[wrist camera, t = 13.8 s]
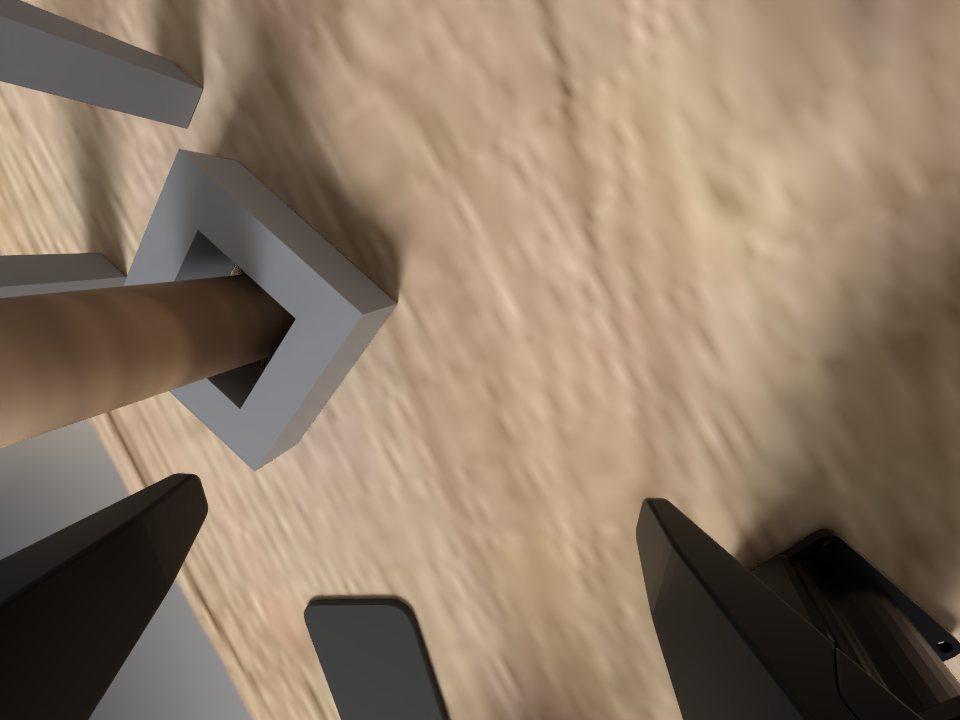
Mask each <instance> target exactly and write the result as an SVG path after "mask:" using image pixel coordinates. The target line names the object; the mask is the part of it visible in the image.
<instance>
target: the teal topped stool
mask: <svg viewBox="0 0 960 720" xmlns="http://www.w3.org/2000/svg"><path fill="white" fill-rule="evenodd" d="M0 81H3V82H6V83H10V84H14V85H18V86H22V87H26V88H30V89H34V90H38V91H42V92H46V93H49V94H53V95H57V96H61V97H65V98H69V99H73V100H77V101H81V102H85V103H89V104H92V105H96V106H100V107H104V108H108V109H112V110H116V111H120V112H124V113H128V114H131V115H135V116H139V117H143V118H147V119H151V120H155V121H159V122H163V123H167V124H171V125H174V126H178V127H182V128H186V129H187V127H188V125H189V122H190V120H191V117H192V115H193V112H194V110H195V108H196V105H197V103H198V100H199V98H200V95H201V93H202V90H203V89H202V88H201V87H200V86H199V85H198V84H197V83H196V82H195V81H193V80H192V79H191V78H190V77H189V76H188V75H187V74H186V73H184V72H183V71H182V70H181V69H180V68H179V67H178V66H177V65H175V64H174V63H173V62H172V61H170V60H168V59H165V58H163V57H160V56H158V55H155V54H153V53H150V52H148V51H145V50H143V49H140V48H138V47H135V46H133V45H130V44H128V43H125V42H123V41H120V40H118V39H115V38H113V37H110V36H108V35H105V34H103V33H100V32H98V31H95V30H93V29H90V28H88V27H85V26H83V25H80V24H78V23H75V22H73V21H70V20H68V19H65V18H63V17H60V16H58V15H55V14H53V13H50V12H48V11H45V10H43V9H40V8H38V7H35V6H33V5H30V4H28V3H25V2H23V1H20V0H0ZM125 279H126V276H125V275H124V274H123V273H121V272H120V271H119V270H118V269H117V268H116V267H115V266H114V265H113V264H112V263H111V262H110V261H109V260H107V259H106V258H105V257H104V256H103V255H102V254H101V253H80V254H45V255H9V256H0V298H6V297H16V296H26V295H37V294H47V293H58V292H68V291H78V290H89V289H99V288H109V287H120V286H123V284H124V282H125Z"/></svg>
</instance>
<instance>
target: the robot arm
mask: <svg viewBox="0 0 960 720" xmlns="http://www.w3.org/2000/svg"><path fill="white" fill-rule="evenodd" d="M207 512H208V503H207V500H206V496H205V493H204V490H203V487H202V483H201V480H200V478H199V477H198V476H197V475H195V474H183V473H178V474H173V475H171V476H169V477H167V478H165V479H163V480H161V481H159V482H157V483H155V484H153V485H151V486H149V487H147V488H145V489H143V490H141V491H139V492H137V493H135V494H133V495H131V496H128V497H126V498H124V499H122V500H120V501H118V502H116V503H114V504H112V505H110V506H109V507H107V508H104V509H102V510H100V511H98V512H96V513H94V514H92V515H90V516H88V517H86V518H84V519H82V520H80V521H78V522H76V523H74V524H72V525H70V526H68V527H66V528H64V529H62V530H60V531H58V532H56V533H54V534H52V535H50V536H48V537H46V538H44V539H42V540H40V541H38V542H36V543H34V544H32V545H30V546H28V547H26V548H24V549H22V550H20V551H18V552H16V553H14V554H12V555H9V556H7V557H5V558H3V559H2V560H0V720H89V718H90V717H91V715H92V714H93V712H94V710H95V709H96V707H97V705H98V704H99V702H100V700H101V699H102V697H103V696H104V694H105V692H106V691H107V689H108V688H109V686H110V684H111V683H112V681H113V680H114V678H115V677H116V675H117V673H118V671H119V670H120V668H121V667H122V665H123V664H124V662H125V660H126V659H127V657H128V656H129V654H130V652H131V651H132V649H133V648H134V646H135V644H136V643H137V641H138V640H139V638H140V636H141V635H142V633H143V631H144V630H145V628H146V627H147V625H148V624H149V622H150V620H151V619H152V617H153V615H154V614H155V612H156V611H157V609H158V608H159V606H160V604H161V603H162V601H163V599H164V598H165V596H166V594H167V593H168V591H169V589H170V587H171V586H172V584H173V582H174V580H175V578H176V576H177V574H178V572H179V570H180V568H181V566H182V564H183V562H184V560H185V558H186V556H187V554H188V552H189V550H190V548H191V546H192V544H193V542H194V540H195V538H196V536H197V534H198V532H199V530H200V528H201V526H202V524H203V522H204V520H205V518H206V516H207ZM636 540H637V545H638V550H639V555H640V561H641V566H642V571H643V576H644V581H645V586H646V591H647V596H648V602H649V606H650V611H651V616H652V619H653V623H654V627H655V630H656V633H657V637H658V640H659V643H660V646H661V650H662V653H663V656H664V659H665V663H666V666H667V669H668V672H669V675H670V679H671V682H672V685H673V688H674V692H675V695H676V698H677V701H678V705H679V708H680V711H681V714H682V718H683V720H960V683H959V682H958V681H957V680H956V678H955V677H954V676H953V674H952V673H951V672H950V670H949V669H948V668H947V667H946V665H945V664H944V663H943V662H944V661H946V660H948V659H951V658H953V657H955V656H956V655H958V654H959V653H960V643H959V642H958V640H957V639H956V638H955V637H954V636H953V634H952V633H951V632H950V631H949V630H948V629H946V628H945V627H944V626H943V625H942V624H941V623H940V622H938V621H937V620H936V619H935V618H934V617H933V616H932V615H930V614H929V613H928V612H927V611H926V610H925V609H924V608H922V607H921V606H920V605H919V604H918V603H917V602H916V601H914V600H913V599H912V598H911V597H910V596H909V595H908V594H906V593H905V592H904V591H903V590H902V589H901V588H900V587H898V586H897V585H896V584H895V583H894V582H893V581H892V580H890V579H889V578H888V577H887V576H886V575H885V574H884V573H882V572H881V571H880V570H879V569H878V568H877V567H876V566H874V565H873V564H872V563H871V562H870V561H869V560H868V559H866V558H865V557H864V556H863V555H862V554H861V553H860V552H858V551H857V550H856V549H855V548H854V547H853V546H852V545H850V544H849V543H848V542H847V541H846V540H845V539H844V538H842V537H841V536H840V535H839V534H838V533H836V532H835V531H833V530H829V529H821V530H818V531H816V532H814V533H813V534H811V535H809V536H808V537H806V538H805V539H803V540H802V541H800V542H798V543H797V544H795V545H794V546H792V547H791V548H789V549H787V550H786V551H784V552H783V553H781V554H780V555H778V556H775V557H773V558H772V559H770V560H769V561H767V562H765V563H764V564H762V565H761V566H759V567H758V568H756V569H754V570H753V571H751V572H750V571H749V570H748V569H747V568H745V567H744V566H743V565H742V564H741V563H740V562H739V561H737V560H736V559H735V558H734V557H733V556H732V555H731V554H729V553H728V552H727V551H726V550H725V549H724V548H722V547H721V546H720V545H719V544H718V543H717V542H716V541H714V540H713V539H712V538H711V537H710V536H709V535H708V534H706V533H705V532H704V531H703V530H702V529H701V528H699V527H698V526H697V525H696V524H695V523H694V522H693V521H691V520H690V519H689V518H688V517H687V516H686V515H685V514H683V513H682V512H681V511H680V510H679V509H678V508H677V507H675V506H674V505H673V504H672V503H671V502H670V501H668V500H667V499H664V498H645V499H644V501H643V503H642V506H641V510H640V515H639V519H638V523H637V528H636ZM827 541H833V543H832V544H831V545H829V546H823V544H824V543H825V542H827ZM943 641H945V642H944V643H941V644H938V643H939V642H943Z"/></svg>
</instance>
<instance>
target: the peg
mask: <svg viewBox="0 0 960 720" xmlns="http://www.w3.org/2000/svg"><path fill="white" fill-rule="evenodd" d="M295 320H296V318H295V317H293V316H292V315H291V314H290V313H289V312H288V311H287V310H286V309H285V308H284V307H282V306H281V305H280V304H279V303H278V302H277V301H276V300H275V299H274V298H273V297H272V296H270V295H269V294H268V293H267V292H266V291H265V290H264V289H263V288H262V287H261V286H259V285H258V284H257V283H256V282H255V281H254V280H253V279H252V278H251V277H250V276H248V275H247V274H244V275H234V276H223V277H213V278H203V279H192V280H182V281H172V282H161V283H151V284H141V285H130V286H120V287H109V288H99V289H89V290H78V291H68V292H58V293H47V294H37V295H26V296H16V297H6V298H0V448H3V447H6V446H8V445H11V444H14V443H17V442H20V441H23V440H26V439H29V438H32V437H35V436H38V435H41V434H44V433H47V432H50V431H52V430H56V429H58V428H61V427H64V426H67V425H70V424H73V423H76V422H79V421H82V420H84V419H88V418H91V417H94V416H97V415H100V414H103V413H105V412H108V411H111V410H114V409H117V408H120V407H123V406H126V405H129V404H132V403H135V402H138V401H141V400H144V399H147V398H150V397H152V396H155V395H158V394H161V393H164V392H167V391H170V390H173V389H176V388H179V387H182V386H185V385H188V384H191V383H194V382H196V381H199V380H202V379H205V378H208V377H211V376H214V375H217V374H220V373H223V372H226V371H229V370H232V369H235V368H238V367H241V366H243V365H246V364H249V363H252V362H255V361H258V360H261V359H264V358H267V357H270V356H273V355H274V354H275V352H276V350H277V349H278V347H279V346H280V344H281V342H282V341H283V339H284V337H285V336H286V334H287V333H288V331H289V329H290V328H291V326H292V324H293V323H294V321H295Z"/></svg>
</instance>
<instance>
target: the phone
mask: <svg viewBox="0 0 960 720" xmlns="http://www.w3.org/2000/svg"><path fill="white" fill-rule="evenodd" d="M304 619H305V623H306V626H307V628H308V631H309V634H310V637H311V639H312V642H313V645H314V647H315V650H316V653H317V655H318V658H319V661H320V664H321V666H322V669H323V672H324V674H325V677H326V680H327V683H328V685H329V688H330V691H331V693H332V696H333V699H334V701H335V704H336V707H337V710H338V712H339V715H340V718H341V720H448V717H447V714H446V711H445V708H444V705H443V702H442V699H441V696H440V693H439V689H438V686H437V683H436V680H435V677H434V674H433V671H432V668H431V665H430V662H429V659H428V656H427V653H426V650H425V647H424V644H423V641H422V637H421V634H420V631H419V628H418V625H417V622H416V619H415V617H414V615H413V613H412V611H411V610H410V609H409V608H408V607H407V606H406V605H405V604H404V603H402V602H400V601H397V600H393V599H334V600H315V601H312V602H311V603H310V604H309V605H308V606H307V607H306V609H305V611H304Z"/></svg>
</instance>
